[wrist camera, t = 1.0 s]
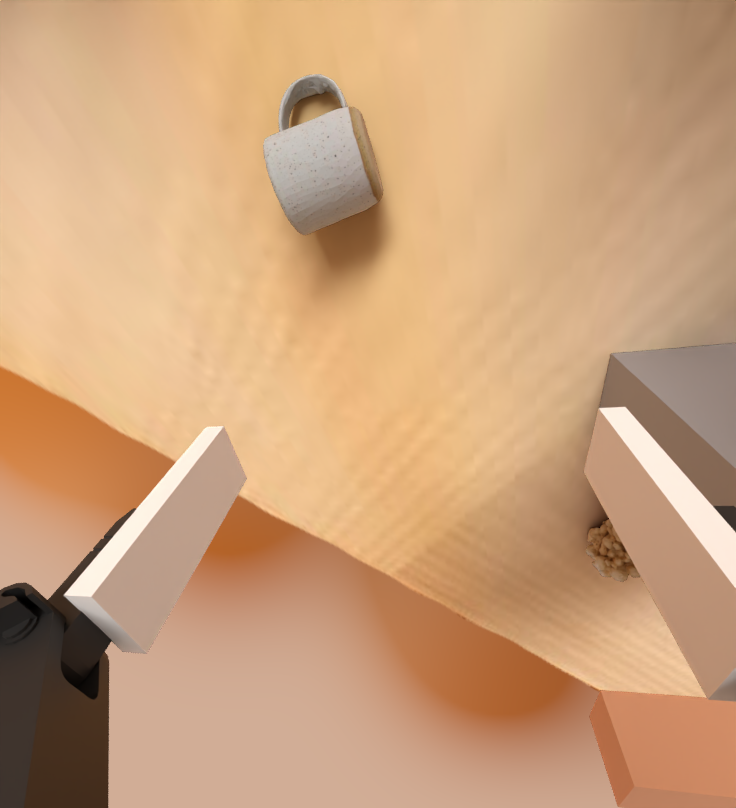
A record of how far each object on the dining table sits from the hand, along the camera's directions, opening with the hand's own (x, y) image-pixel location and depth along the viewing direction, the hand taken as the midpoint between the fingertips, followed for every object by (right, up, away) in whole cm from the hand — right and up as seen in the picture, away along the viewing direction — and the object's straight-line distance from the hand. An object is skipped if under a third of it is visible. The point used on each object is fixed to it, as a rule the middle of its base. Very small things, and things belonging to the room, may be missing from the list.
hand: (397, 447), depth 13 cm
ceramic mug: (-5, +24, +20) cm, 32 cm away
